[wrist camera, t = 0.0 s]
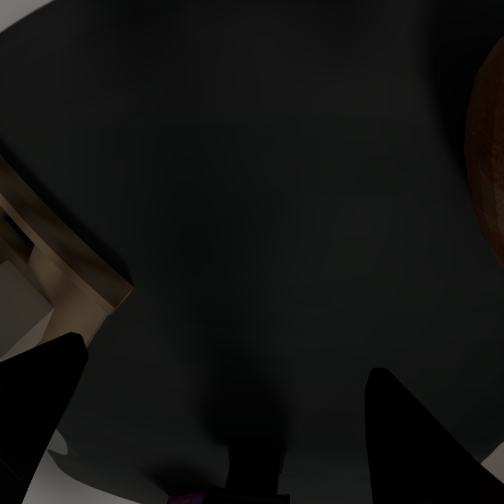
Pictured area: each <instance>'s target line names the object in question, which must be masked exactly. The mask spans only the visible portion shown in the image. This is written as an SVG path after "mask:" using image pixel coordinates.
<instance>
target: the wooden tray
mask: <svg viewBox="0 0 504 504" xmlns="http://www.w3.org/2000/svg"><path fill="white" fill-rule="evenodd" d="M7 214H8V215H9V216H10V217H11V218H12V219H13V221H14V222H15V223H16V224H17V225H18V226H19V227H20V229H21V230H22V231H23V232H24V233H25V234H26V235H27V236H28V237H29V238H30V239H31V241H32V242H33V243H34V244H35V245H34V247H33V250H32V249H31V248H30V247H29V245H28V244H27V243H26V242H25V241H24V240H23V239H22V238H21V237H20V236H19V234H18V233H17V232H16V231H15V230H14V229H13V228H12V226H11V225H10V224H9V223H8V222H7V221H6V220H5V219H6V215H7ZM7 260H9V261H10V262H11V263H12V264H13V265H14V266H15V268H16V269H17V270H18V271H19V272H20V273H21V274H22V275H23V276H24V277H25V278H26V279H27V281H28V282H29V283H30V284H31V285H32V286H33V287H34V288H35V289H36V290H37V291H38V292H39V293H40V294H41V295H42V296H43V297H44V298H45V299H46V300H47V301H48V302H49V303H50V304H51V305H52V306H53V307H54V311H53V313H52V315H51V318H50V320H49V322H48V325H47V327H46V329H45V332H44V334H43V337H42V339H41V340H40V341H39V342H38V343H37V344H36V345H35V346H34V347H36V346H39V345H41V344H43V343H46V342H48V341H50V340H52V339H55V338H57V337H59V336H62V335H64V334H66V333H69V332H75V333H79V334H81V335H82V336H83V339H84V342H85V345H86V348H87V346H88V345H89V343H90V342H91V340H92V339H93V337H94V336H95V334H96V332H97V331H98V329H99V328H100V326H101V325H102V323H103V322H104V320H105V319H106V317H107V316H108V315H111V314H112V313H113V312H114V310H115V309H116V308H117V307H118V306H119V305H120V304H121V303H122V302H123V300H124V299H125V298H126V297H127V296H128V295H129V294H130V292H131V291H132V290H133V288H134V287H133V286H132V285H131V284H130V283H129V282H128V281H126V280H125V279H124V278H123V277H122V276H121V275H120V274H118V273H117V272H116V271H115V270H114V269H113V268H112V267H111V266H110V265H108V264H107V263H106V262H105V261H104V260H103V259H102V258H101V257H100V256H99V255H97V254H96V253H95V252H94V251H93V250H92V249H91V248H90V247H89V246H88V245H87V244H86V243H85V242H84V241H82V240H81V239H80V238H79V237H78V236H77V235H76V234H75V233H74V232H73V231H72V230H71V229H70V228H69V227H68V226H67V225H66V224H65V223H64V222H63V221H62V220H61V219H60V218H59V217H58V216H57V215H56V214H55V213H54V212H53V211H52V210H51V209H50V208H49V207H48V206H47V205H46V204H45V203H44V202H43V201H42V200H41V199H40V198H39V197H38V195H37V194H36V193H35V192H34V191H33V190H32V189H31V188H30V187H29V186H28V185H27V184H26V183H25V182H24V180H23V179H22V178H21V177H20V176H19V175H18V174H17V173H16V172H15V170H14V169H13V168H12V167H11V166H10V165H9V164H8V162H7V161H6V160H5V159H4V158H3V157H2V156H1V154H0V265H1V264H2V263H4V262H5V261H7ZM34 347H33V348H34Z"/></svg>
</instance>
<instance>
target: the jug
mask: <svg viewBox="0 0 504 504" xmlns="http://www.w3.org/2000/svg"><path fill="white" fill-rule="evenodd" d="M463 151H464V157H465V163H466V169H467V176H468V184H469V192H470V199H471V201H472V204H473V207H474V210H475V212H476V215H477V218H478V221H479V224H480V227H481V230H482V233H483V235H484V237H485V239H486V240H487V242H488V244H489V246H490V248H491V250H492V251H493V253H494V255H495V257H496V259H497V261H498V263H499V265H500V266H501V267H502V269H503V270H504V36H503V37H502V38H500V39H499V40H498V42H497V43H496V44H495V45H494V46H493V47H492V49H491V51H490V53H489V54H488V56H487V58H486V59H485V61H484V63H483V64H482V66H481V68H480V69H479V71H478V73H477V74H476V76H475V80H474V84H473V89H472V93H471V97H470V101H469V105H468V109H467V113H466V128H465V140H464V150H463Z"/></svg>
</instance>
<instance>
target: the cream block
mask: <svg viewBox="0 0 504 504" xmlns="http://www.w3.org/2000/svg"><path fill="white" fill-rule="evenodd" d="M53 311H54V307H53V306H52V305H51V304H50V303H49V302H48V301H47V300H46V299H45V298H44V297H43V296H42V295H41V294H40V293H39V292H38V291H37V290H36V289H35V288H34V287H33V286H32V285H31V284H30V283H29V282H28V281H27V279H26V278H25V277H24V276H23V275H22V274H21V273H20V272H19V271H18V270H17V269H16V268H15V266H14V265H13V264H12V263H11V262H10V261H9V260H7V261H5V262H4V263H2V264H1V265H0V362H1V361H4V360H6V359H8V358H11V357H13V356H15V355H18V354H20V353H22V352H25V351H27V350H29V349H32V348H33V347H34V346H35V345H36V344H37V343H38V342H39V341H40V340H41V339H42V337H43V334H44V332H45V329H46V327H47V325H48V322H49V320H50V318H51V315H52V313H53Z"/></svg>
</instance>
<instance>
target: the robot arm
mask: <svg viewBox="0 0 504 504" xmlns="http://www.w3.org/2000/svg"><path fill="white" fill-rule="evenodd" d="M87 360H88V351H87V348H86V345H85V342H84V339H83V336H82V335H81V334H79V333H75V332H69V333H66V334H64V335H62V336H59V337H57V338H55V339H52V340H50V341H48V342H46V343H43V344H41V345H39V346H36V347H34V348H32V349H29V350H27V351H25V352H22V353H20V354H18V355H15V356H13V357H11V358H8V359H6V360H4V361H1V362H0V504H22V502H23V500H24V497H25V495H26V492H27V490H28V487H29V485H30V483H31V480H32V478H33V476H34V474H35V471H36V469H37V467H38V465H39V463H40V461H41V458H42V456H43V454H44V452H45V450H46V447H47V446H48V444H49V442H50V439H51V437H52V435H53V433H54V431H55V429H56V427H57V425H58V423H59V421H60V419H61V417H62V415H63V414H64V412H65V410H66V408H67V406H68V404H69V402H70V400H71V398H72V396H73V394H74V392H75V389H76V387H77V384H78V382H79V379H80V377H81V375H82V372H83V370H84V367H85V365H86V363H87ZM365 431H366V447H367V454H368V462H369V470H370V479H371V488H372V498H373V504H504V484H503V483H502V482H501V481H500V480H498V479H497V478H496V477H495V476H494V475H492V474H491V473H490V472H489V471H488V470H486V469H485V468H484V467H483V466H482V465H481V464H480V463H479V462H477V461H476V460H475V459H474V458H473V457H472V456H471V455H470V454H469V453H468V452H467V451H466V450H465V449H464V448H463V447H462V446H461V445H460V444H459V443H458V442H457V441H456V442H455V439H454V437H453V436H452V435H451V434H450V433H449V432H448V431H447V430H446V429H445V428H444V427H443V426H442V425H441V424H440V423H439V422H438V421H437V420H436V419H435V418H434V417H433V416H432V415H431V414H430V412H429V411H428V410H427V409H426V408H425V407H424V406H423V405H422V404H421V403H420V402H419V401H418V400H417V399H416V398H415V397H414V396H413V395H412V394H411V393H410V392H409V391H408V390H407V389H406V388H405V387H404V386H403V385H402V384H401V383H400V382H399V381H398V379H397V378H396V377H395V376H394V375H393V374H392V373H391V372H390V371H389V370H388V369H386V368H373V369H372V370H371V372H370V375H369V378H368V381H367V385H366V388H365ZM228 451H229V462H230V468H229V473H228V477H227V481H226V486H225V489H224V488H218V487H215V486H210V487H209V489H208V491H205V494H204V498H203V501H202V504H290V495H289V494H285V495H277V489H278V480H279V474H280V473H282V469H283V464H284V458H285V453H286V447H285V446H283V445H272V444H261V443H251V442H242V441H234V440H230V441H229V443H228Z"/></svg>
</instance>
